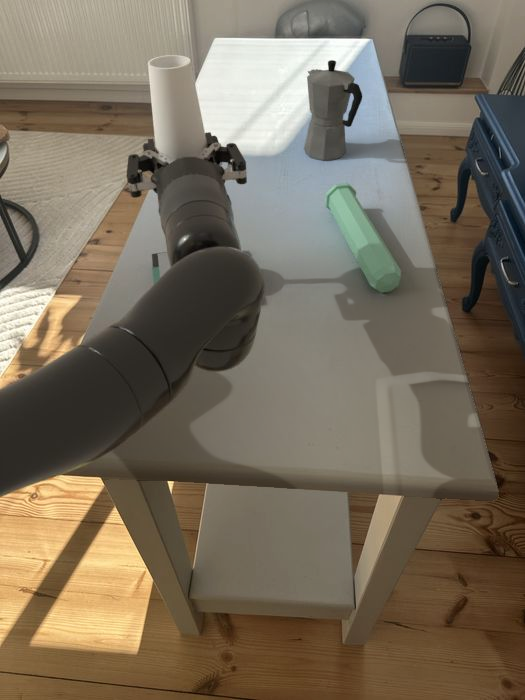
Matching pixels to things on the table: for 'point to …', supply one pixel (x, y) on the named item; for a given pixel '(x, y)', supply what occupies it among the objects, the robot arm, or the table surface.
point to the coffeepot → (330, 111)
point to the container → (363, 238)
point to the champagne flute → (175, 107)
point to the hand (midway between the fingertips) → (180, 143)
